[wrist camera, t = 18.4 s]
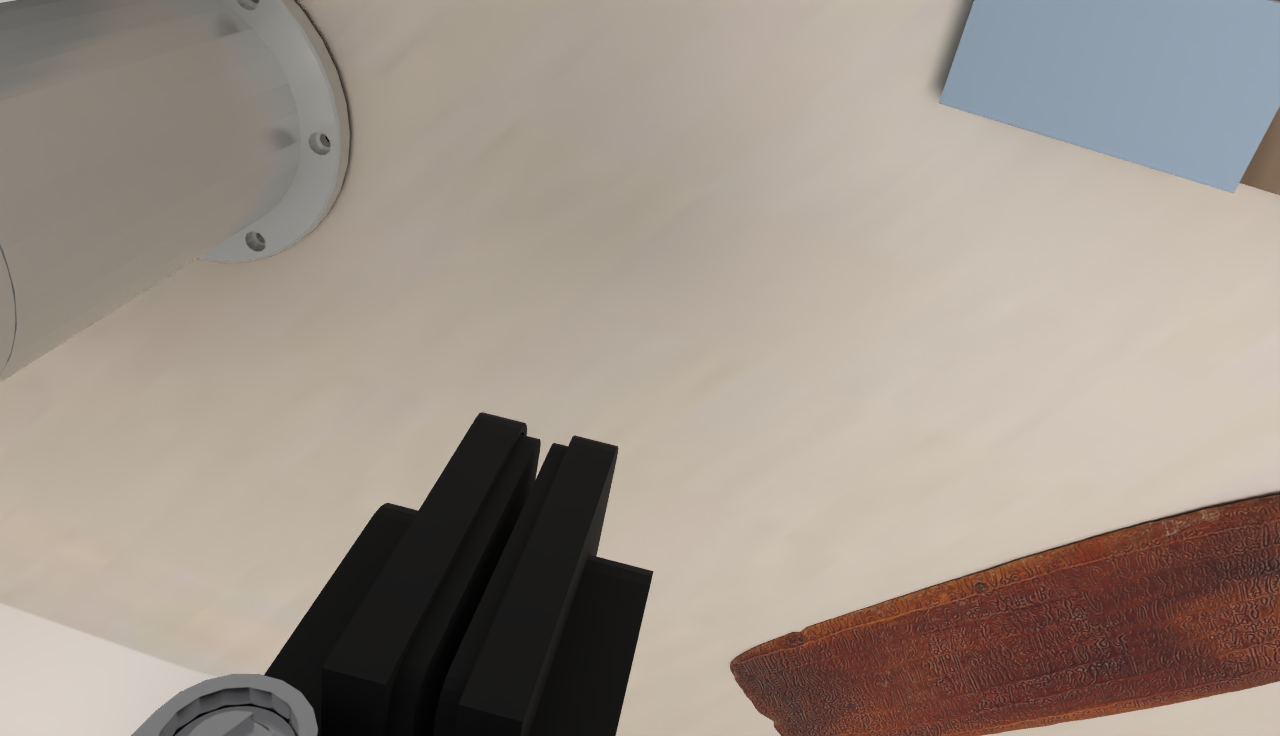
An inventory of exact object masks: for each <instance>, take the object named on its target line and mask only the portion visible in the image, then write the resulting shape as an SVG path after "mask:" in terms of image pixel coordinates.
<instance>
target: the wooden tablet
mask: <svg viewBox="0 0 1280 736" xmlns="http://www.w3.org/2000/svg"><path fill="white" fill-rule="evenodd" d="M730 669H731V672H732V673H733V675H734V676H735V680H736V682H737V683H738V685H739V686H740V687H741V688H742V689H743V691H744V693H745V694H746V696H747V697H748V698H749V699H750V700H751V701H752V703H753V705H754V706H755V708H756V709H757V710H758V712H760V713H761V714H763V715H764V716H766V717H767V718H769V719H771V720H773V721H774V727H775V729H776V730H777V731H778V732H779V734H780V735H781V736H981V735H987V734H995V733H1001V732H1006V731H1012V730H1019V729H1026V728H1034V727H1041V726H1048V725H1053V724H1057V723H1062V722H1069V721H1076V720H1084V719H1090V718H1096V717H1102V716H1108V715H1114V714H1120V713H1125V712H1131V711H1136V710H1142V709H1148V708H1153V707H1159V706H1164V705H1170V704H1174V703H1179V702H1184V701H1189V700H1195V699H1199V698H1203V697H1209V696H1213V695H1218V694H1223V693H1227V692H1234V691H1240V690H1244V689H1249V688H1252V687H1257V686H1262V685H1266V684H1270V683H1273V682H1278V681H1280V495H1272V496H1267V497H1262V498H1257V499H1251V500H1246V501H1241V502H1237V503H1233V504H1228V505H1224V506H1219V507H1213V508H1209V509H1204V510H1200V511H1196V512H1192V513H1189V514H1185V515H1181V516H1177V517H1173V518H1167V519H1163V520H1160V521H1155V522H1149V523H1145V524H1141V525H1138V526H1135V527H1131V528H1126V529H1122V530H1119V531H1115V532H1112V533H1108V534H1104V535H1102V536H1098V537H1094V538H1091V539H1088V540H1085V541H1081V542H1078V543H1074V544H1071V545H1068V546H1064V547H1060V548H1057V549H1053V550H1050V551H1046V552H1043V553H1040V554H1036V555H1032V556H1029V557H1025V558H1022V559H1019V560H1016V561H1013V562H1010V563H1007V564H1004V565H1001V566H998V567H995V568H992V569H989V570H986V571H983V572H980V573H976V574H972V575H969V576H966V577H963V578H960V579H956V580H952V581H949V582H946V583H942V584H938V585H935V586H932V587H929V588H927V589H923V590H920V591H917V592H914V593H911V594H908V595H904V596H901V597H898V598H894V599H891V600H888V601H885V602H883V603H880V604H877V605H874V606H871V607H867V608H864V609H860V610H857V611H854V612H851V613H848V614H845V615H842V616H840V617H837V618H834V619H830V620H827V621H824V622H821V623H818V624H815V625H812V626H809V627H806V628H805V629H804V630H802V631H801V632H792V633H789V634H787V635H785V636H782V637H779V638H776V639H774V640H771V641H769V642H767V643H764V644H761V645H758V646H756V647H754V648H752V649H751V650H749V651H747V652H745V653H743V654H742V655H740V656H738V657H736V658H735V659H734V660H733V661H732V662H731V665H730Z"/></svg>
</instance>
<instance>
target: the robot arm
mask: <svg viewBox="0 0 1280 736" xmlns="http://www.w3.org/2000/svg"><path fill="white" fill-rule="evenodd" d="M325 135H326V136H327V138H328V139H329V140H330V143H329V142H328V141H327V140H326V138H325ZM349 142H350V130H349V122H348V113H347V104H346V100H345V97H344V93H343V90H342V87H341V83H340V80H339V76H338V73H337V70H336V68H335V66H334V64H333V62H332V59H331V57H330V55H329V53H328V51H327V49H326V47H325V45H324V42H323V40H322V39H321V37H320V36H319V34H318V33H317V31H316V30H315V28H314V27H313V25H312V24H311V22H310V21H309V19H308V18H307V16H306V15H305V13H304V12H303V10H302V9H301V8H300V7H299V6H298V5H297V4H296V3H295V1H294V0H16V1H10V2H3V3H0V382H2V381H3V380H5V379H7V378H8V377H10V376H11V375H13V374H14V373H16V372H18V371H19V370H21V369H22V368H24V367H26V366H27V365H29V364H30V363H32V362H33V361H35V360H37V359H38V358H40V357H41V356H43V355H45V354H46V353H48V352H49V351H51V350H52V349H54V348H56V347H57V346H59V345H60V344H62V343H64V342H65V341H67V340H68V339H70V338H72V337H73V336H75V335H76V334H78V333H79V332H81V331H83V330H84V329H86V328H87V327H89V326H91V325H92V324H94V323H95V322H97V321H98V320H100V319H102V318H103V317H105V316H106V315H108V314H110V313H111V312H113V311H114V310H116V309H117V308H119V307H121V306H122V305H124V304H125V303H127V302H129V301H130V300H132V299H133V298H135V297H137V296H138V295H140V294H141V293H143V292H144V291H146V290H148V289H149V288H151V287H152V286H154V285H156V284H157V283H159V282H160V281H162V280H163V279H165V278H167V277H168V276H170V275H171V274H173V273H175V272H176V271H178V270H179V269H181V268H182V267H184V266H186V265H187V264H189V263H190V262H192V261H194V260H195V259H198V260H205V261H211V262H218V263H242V262H251V261H255V260H259V259H263V258H267V257H271V256H273V255H275V254H277V253H279V252H281V251H283V250H285V249H287V248H289V247H291V246H293V245H294V244H296V243H297V242H298V241H300V240H301V239H302V238H304V237H305V236H306V235H308V234H309V233H310V232H312V231H313V230H314V229H315V227H316V226H317V225H318V224H319V223H320V222H321V221H322V220H323V218H324V217H325V216H326V215H327V214H328V213H329V211H330V209H331V207H332V205H333V204H334V202H335V200H336V198H337V196H338V194H339V192H340V191H341V187H342V184H343V180H344V176H345V173H346V169H347V166H348V156H349ZM526 435H527V425H526V423H523V422H519V421H515V420H511V419H507V418H503V417H499V416H495V415H491V414H487V413H483V412H482V413H479V415H478V416H477V417H476V419H475V420H474V422H473V424H472V425H471V427H470V428H469V430H468V432H467V433H466V435H465V437H464V438H463V440H462V441H461V443H460V445H459V446H458V448H457V450H456V451H455V453H454V454H453V456H452V458H451V459H450V461H449V462H448V464H447V466H446V467H445V469H444V471H443V472H442V474H441V475H440V477H439V479H438V480H437V482H436V483H435V485H434V487H433V488H432V490H431V492H430V493H429V495H428V496H427V498H426V500H425V501H424V503H423V505H422V506H421V508H420V509H419V511H417V510H413V509H409V508H406V507H402V506H398V505H394V504H390V503H386V504H384V505H382V506H381V507H380V508H379V509H378V510H377V511H376V513H375V514H374V515H373V517H372V518H371V520H370V521H369V522H368V524H367V525H366V527H365V528H364V530H363V531H362V533H361V534H360V536H359V537H358V539H357V540H356V541H355V543H354V544H353V546H352V547H351V549H350V550H349V552H348V553H347V555H346V556H345V558H344V559H343V560H342V562H341V563H340V565H339V566H338V568H337V569H336V571H335V572H334V574H333V575H332V577H331V578H330V580H329V581H328V582H327V584H326V585H325V587H324V588H323V590H322V591H321V593H320V594H319V596H318V597H317V599H316V600H315V601H314V603H313V604H312V606H311V607H310V609H309V610H308V612H307V613H306V615H305V616H304V618H303V619H302V620H301V622H300V623H299V625H298V626H297V628H296V629H295V631H294V632H293V634H292V635H291V637H290V638H289V640H288V641H287V642H286V644H285V645H284V647H283V648H282V650H281V651H280V653H279V654H278V656H277V657H276V659H275V660H274V661H273V663H272V664H271V666H270V667H269V669H268V670H267V672H266V673H265V675H260V674H231V675H227V676H222V677H218V678H213V679H210V680H205V681H203V682H201V683H199V684H196V685H194V686H192V687H190V688H188V689H186V690H184V691H181V692H179V693H178V694H177V695H176V696H174V697H173V698H172V699H170V700H169V701H168V702H167V703H165V704H164V705H163V706H161V707H160V708H159V709H158V710H156V711H155V712H154V713H153V714H152V715H151V716H150V717H149V718H148V719H147V720H146V721H145V722H144V723H143V724H142V725H141V726H140V727H139V728H138V729H137V730H136V731H135V732H134V733H133V734H132V735H131V736H615V735H616V731H617V727H618V722H619V718H620V714H621V709H622V705H623V701H624V696H625V692H626V688H627V683H628V679H629V675H630V670H631V666H632V662H633V657H634V653H635V649H636V644H637V640H638V636H639V631H640V627H641V623H642V618H643V614H644V610H645V605H646V601H647V597H648V592H649V588H650V584H651V579H652V575H653V571H650V570H646V569H642V568H638V567H634V566H631V565H627V564H623V563H619V562H615V561H611V560H607V559H603V558H600V557H596V555H597V551H598V546H599V541H600V536H601V531H602V527H603V522H604V517H605V512H606V507H607V503H608V498H609V493H610V488H611V483H612V479H613V474H614V469H615V464H616V459H617V454H618V446H614V445H610V444H606V443H602V442H598V441H594V440H590V439H586V438H582V437H578V436H573V437H572V439H571V441H570V444H569V446H564V445H560V444H556V443H553V444H552V446H551V448H550V450H549V452H548V454H547V456H546V459H545V461H544V463H543V465H542V467H541V470H540V472H539V474H538V476H537V478H536V472H537V466H538V459H539V453H540V439H536V438H532V437H528V436H526ZM535 479H536V480H535Z"/></svg>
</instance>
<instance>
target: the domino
mask: <svg viewBox="0 0 1280 736" xmlns="http://www.w3.org/2000/svg"><path fill="white" fill-rule="evenodd" d="M939 103H940V104H943V105H947V106H950V107H953V108H957V109H960V110H963V111H966V112H970V113H973V114H976V115H979V116H983V117H986V118H989V119H993V120H996V121H999V122H1002V123H1006V124H1009V125H1012V126H1015V127H1019V128H1022V129H1025V130H1028V131H1032V132H1035V133H1038V134H1042V135H1045V136H1048V137H1051V138H1055V139H1058V140H1061V141H1064V142H1068V143H1071V144H1074V145H1077V146H1081V147H1084V148H1087V149H1091V150H1094V151H1097V152H1100V153H1104V154H1107V155H1110V156H1113V157H1117V158H1120V159H1123V160H1126V161H1130V162H1133V163H1136V164H1140V165H1143V166H1146V167H1149V168H1153V169H1156V170H1159V171H1162V172H1166V173H1169V174H1172V175H1176V176H1179V177H1182V178H1185V179H1189V180H1192V181H1195V182H1198V183H1202V184H1205V185H1208V186H1211V187H1215V188H1218V189H1221V190H1225V191H1228V192H1231V193H1234V191H1235V190H1236V188H1237V186H1238V184H1239V182H1240V180H1241V178H1242V176H1243V175H1244V173H1245V171H1246V169H1247V167H1248V165H1249V163H1250V161H1251V159H1252V158H1253V156H1254V154H1255V152H1256V150H1257V148H1258V146H1259V144H1260V143H1261V141H1262V139H1263V137H1264V135H1265V133H1266V131H1267V129H1268V127H1269V126H1270V124H1271V122H1272V120H1273V118H1274V116H1275V114H1276V112H1277V110H1278V109H1279V107H1280V1H1276V0H974V2H973V5H972V8H971V11H970V14H969V17H968V20H967V22H966V25H965V28H964V31H963V34H962V37H961V40H960V43H959V46H958V49H957V52H956V54H955V57H954V60H953V63H952V66H951V69H950V72H949V75H948V78H947V81H946V84H945V86H944V89H943V92H942V95H941V98H940V101H939Z"/></svg>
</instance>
